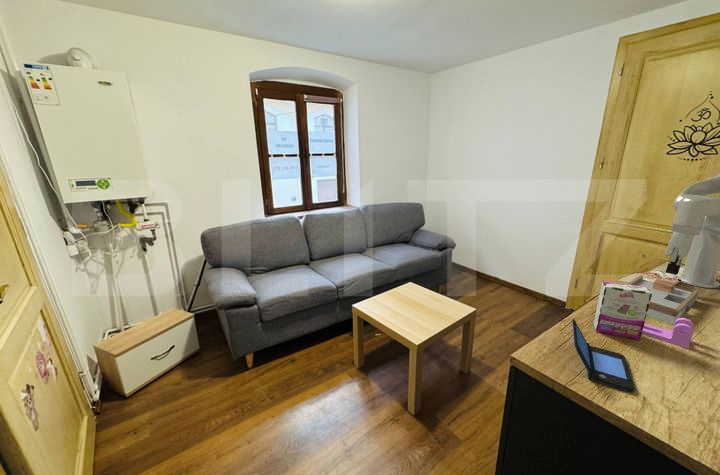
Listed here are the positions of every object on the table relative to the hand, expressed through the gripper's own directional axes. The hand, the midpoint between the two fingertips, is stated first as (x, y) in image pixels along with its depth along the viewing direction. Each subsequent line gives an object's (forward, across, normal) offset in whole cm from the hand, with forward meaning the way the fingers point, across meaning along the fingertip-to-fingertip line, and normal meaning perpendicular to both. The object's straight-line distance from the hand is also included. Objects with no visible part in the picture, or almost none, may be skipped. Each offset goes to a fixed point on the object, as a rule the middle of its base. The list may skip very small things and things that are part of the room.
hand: (671, 273), depth 117 cm
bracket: (+9, +41, +8) cm, 43 cm away
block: (+5, +7, 0) cm, 9 cm away
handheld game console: (+11, +73, +3) cm, 73 cm away
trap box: (+8, +16, 0) cm, 18 cm away
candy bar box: (+10, +50, 0) cm, 51 cm away
